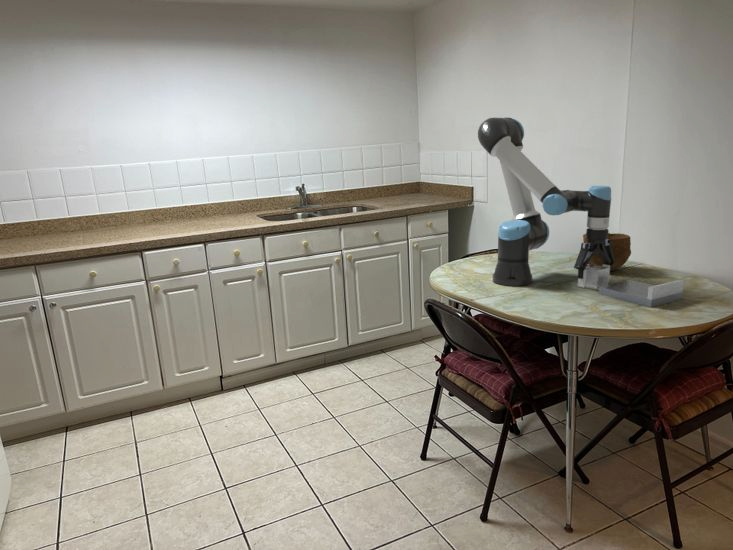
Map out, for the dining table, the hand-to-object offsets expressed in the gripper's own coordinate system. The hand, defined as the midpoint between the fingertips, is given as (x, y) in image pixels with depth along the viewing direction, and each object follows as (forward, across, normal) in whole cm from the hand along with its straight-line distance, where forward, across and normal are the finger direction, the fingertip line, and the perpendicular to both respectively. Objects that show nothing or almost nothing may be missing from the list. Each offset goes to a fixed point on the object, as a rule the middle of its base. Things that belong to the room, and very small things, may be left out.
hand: (593, 284), depth 205 cm
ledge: (0, 0, -19) cm, 19 cm away
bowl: (0, +23, +13) cm, 26 cm away
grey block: (0, 0, 0) cm, 0 cm away
